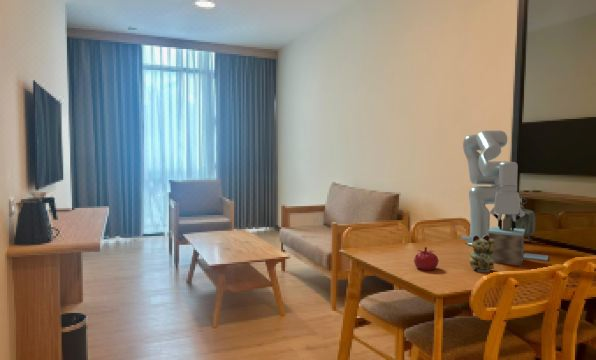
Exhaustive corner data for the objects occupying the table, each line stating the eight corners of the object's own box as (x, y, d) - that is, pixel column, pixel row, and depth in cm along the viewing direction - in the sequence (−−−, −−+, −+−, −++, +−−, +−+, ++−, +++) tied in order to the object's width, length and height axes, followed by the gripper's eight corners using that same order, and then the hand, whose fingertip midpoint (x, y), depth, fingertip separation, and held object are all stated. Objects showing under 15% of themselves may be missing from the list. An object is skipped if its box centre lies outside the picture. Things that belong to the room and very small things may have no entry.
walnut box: (488, 261, 186) (488, 233, 185) (492, 255, 197) (493, 228, 196) (520, 265, 179) (521, 235, 178) (523, 259, 190) (524, 231, 189)
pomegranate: (443, 270, 173) (444, 248, 173) (427, 273, 168) (428, 250, 167) (424, 264, 182) (425, 243, 181) (408, 267, 176) (409, 245, 176)
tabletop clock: (535, 241, 229) (536, 197, 228) (531, 244, 223) (532, 198, 221) (507, 238, 239) (508, 195, 238) (502, 241, 232) (503, 196, 231)
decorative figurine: (473, 272, 168) (474, 236, 167) (465, 267, 176) (465, 232, 176) (497, 272, 168) (498, 236, 167) (487, 267, 176) (488, 232, 176)
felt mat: (522, 258, 192) (522, 257, 192) (524, 254, 200) (524, 252, 200) (547, 261, 186) (547, 259, 186) (548, 256, 195) (548, 255, 195)
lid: (488, 233, 185) (488, 219, 185) (492, 228, 196) (492, 216, 196) (522, 236, 178) (522, 222, 177) (524, 231, 189) (525, 218, 189)
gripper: (486, 189, 187) (485, 228, 188) (528, 190, 178) (527, 232, 179) (488, 188, 194) (487, 226, 195) (529, 189, 185) (528, 229, 186)
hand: (506, 228), depth 187 cm, fingers open, 4 cm apart
